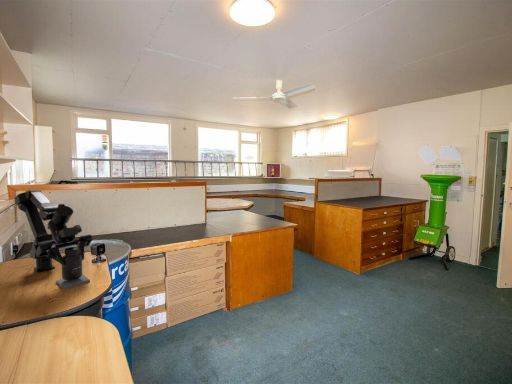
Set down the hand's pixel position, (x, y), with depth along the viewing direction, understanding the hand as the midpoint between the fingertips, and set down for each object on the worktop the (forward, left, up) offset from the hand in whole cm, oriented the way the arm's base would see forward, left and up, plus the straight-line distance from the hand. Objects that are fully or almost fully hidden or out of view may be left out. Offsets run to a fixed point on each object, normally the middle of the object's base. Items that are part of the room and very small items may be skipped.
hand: (73, 262), depth 103 cm
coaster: (-1, 0, -9) cm, 9 cm away
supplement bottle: (-1, 0, -7) cm, 7 cm away
